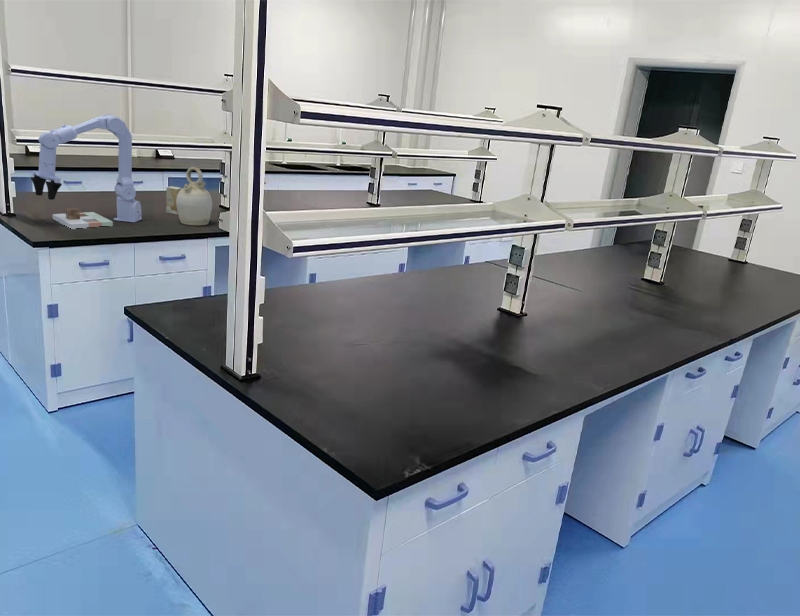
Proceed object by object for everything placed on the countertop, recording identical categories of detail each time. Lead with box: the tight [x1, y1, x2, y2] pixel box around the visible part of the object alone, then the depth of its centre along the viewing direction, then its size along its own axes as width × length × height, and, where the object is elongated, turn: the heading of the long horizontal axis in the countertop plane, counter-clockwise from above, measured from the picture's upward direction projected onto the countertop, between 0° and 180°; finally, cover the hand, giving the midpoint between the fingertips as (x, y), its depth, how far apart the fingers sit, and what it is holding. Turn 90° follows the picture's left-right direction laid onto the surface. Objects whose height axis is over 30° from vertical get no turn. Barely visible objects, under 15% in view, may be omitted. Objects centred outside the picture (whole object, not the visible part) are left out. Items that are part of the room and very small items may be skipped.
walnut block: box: [64, 207, 81, 220], centre depth 259 cm, size 4×4×4 cm
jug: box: [176, 166, 213, 226], centre depth 280 cm, size 15×16×25 cm
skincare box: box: [165, 185, 184, 215], centre depth 297 cm, size 6×4×12 cm
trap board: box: [52, 211, 114, 230], centre depth 263 cm, size 16×20×2 cm
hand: (45, 197), depth 253 cm, fingers open, 7 cm apart
